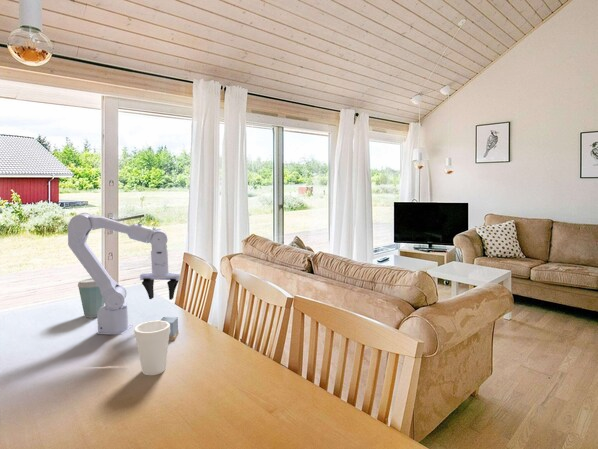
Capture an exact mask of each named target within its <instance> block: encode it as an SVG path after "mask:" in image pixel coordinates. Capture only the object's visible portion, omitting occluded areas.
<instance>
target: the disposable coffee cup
mask: <svg viewBox="0 0 598 449" xmlns="http://www.w3.org/2000/svg"><path fill="white" fill-rule="evenodd" d="M77 287H78V290H79V296H80V302H81V306H82V311H83V315H84V317H85V318H88V319H89V318H90V319H91V318H97V315H98V311H99V309H100V308H101V307H103V306H105V303H104V298H103V296H102V295H101V292H100V288H99V287H98V285H97V284H96V283H95V281H94V280H93V279H92V277H91V278H85V279H81V280H79V281H78V284H77Z"/></svg>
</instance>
